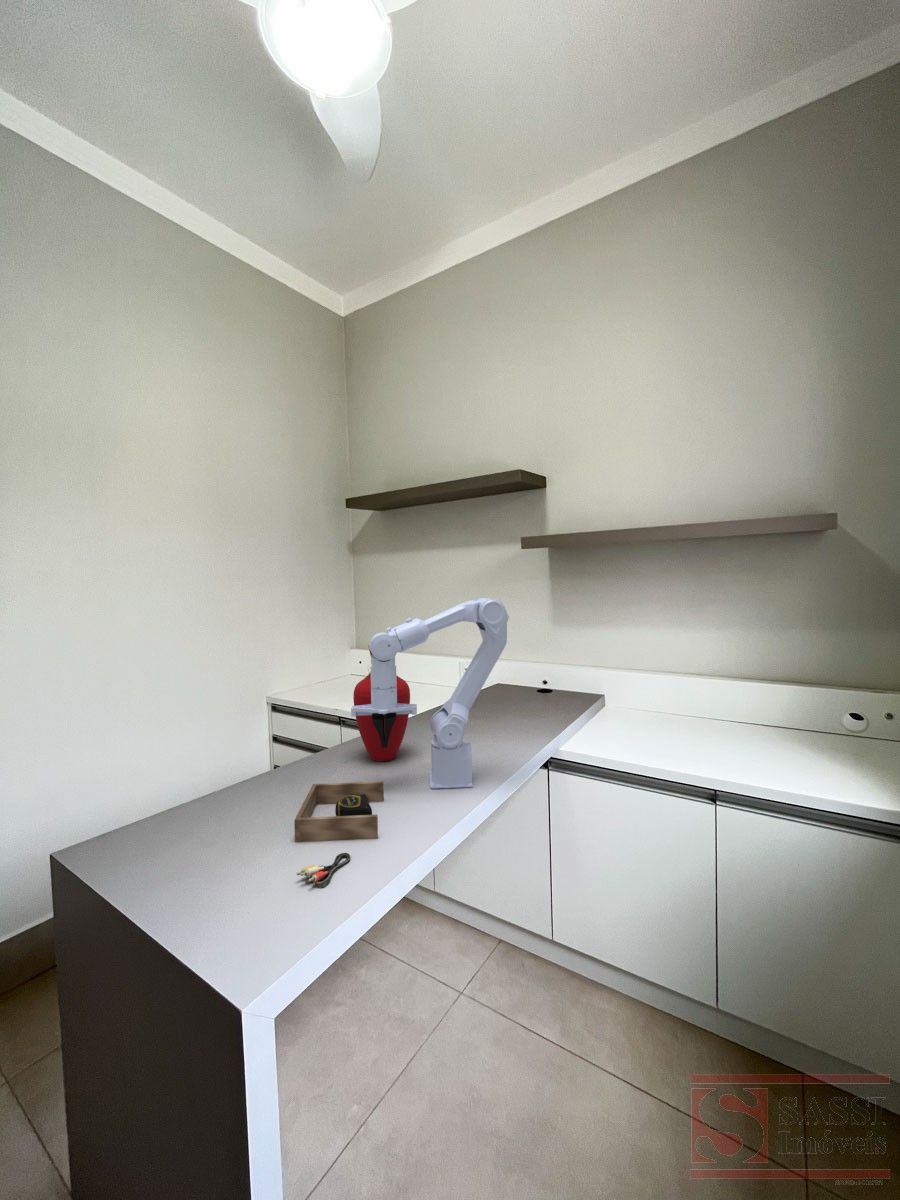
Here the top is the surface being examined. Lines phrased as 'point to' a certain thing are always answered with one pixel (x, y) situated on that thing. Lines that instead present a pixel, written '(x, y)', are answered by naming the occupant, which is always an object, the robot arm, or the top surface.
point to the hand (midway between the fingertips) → (385, 746)
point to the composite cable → (323, 871)
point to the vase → (398, 730)
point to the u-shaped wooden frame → (337, 825)
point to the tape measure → (353, 806)
